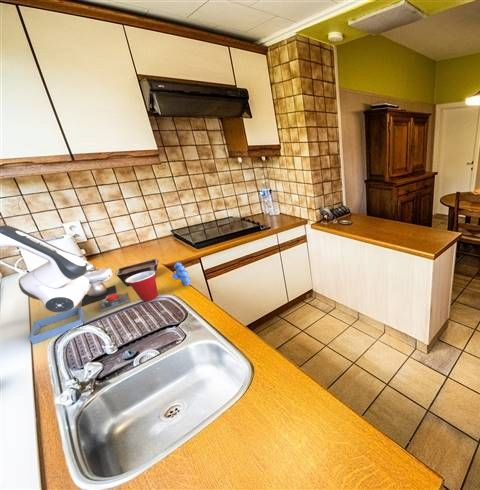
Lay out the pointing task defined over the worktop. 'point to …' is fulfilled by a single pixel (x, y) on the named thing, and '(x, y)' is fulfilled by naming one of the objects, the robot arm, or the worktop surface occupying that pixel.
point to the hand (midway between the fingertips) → (86, 272)
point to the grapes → (181, 274)
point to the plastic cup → (144, 285)
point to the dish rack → (39, 337)
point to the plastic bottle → (95, 288)
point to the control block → (114, 302)
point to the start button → (112, 296)
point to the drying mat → (89, 299)
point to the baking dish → (136, 269)
